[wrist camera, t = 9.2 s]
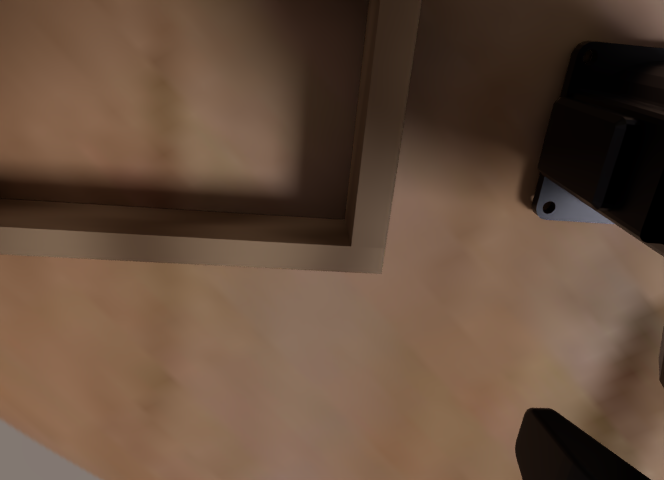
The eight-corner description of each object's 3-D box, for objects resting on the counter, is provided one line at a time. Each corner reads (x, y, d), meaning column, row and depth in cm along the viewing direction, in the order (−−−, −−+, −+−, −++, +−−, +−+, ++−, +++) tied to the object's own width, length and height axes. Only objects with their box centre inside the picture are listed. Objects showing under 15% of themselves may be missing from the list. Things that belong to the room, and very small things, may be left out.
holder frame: (410, -37, 17) (428, -44, 15) (371, 244, 21) (381, 273, 19) (-104, -95, 15) (-174, -112, 13) (-39, 221, 19) (-83, 250, 17)
